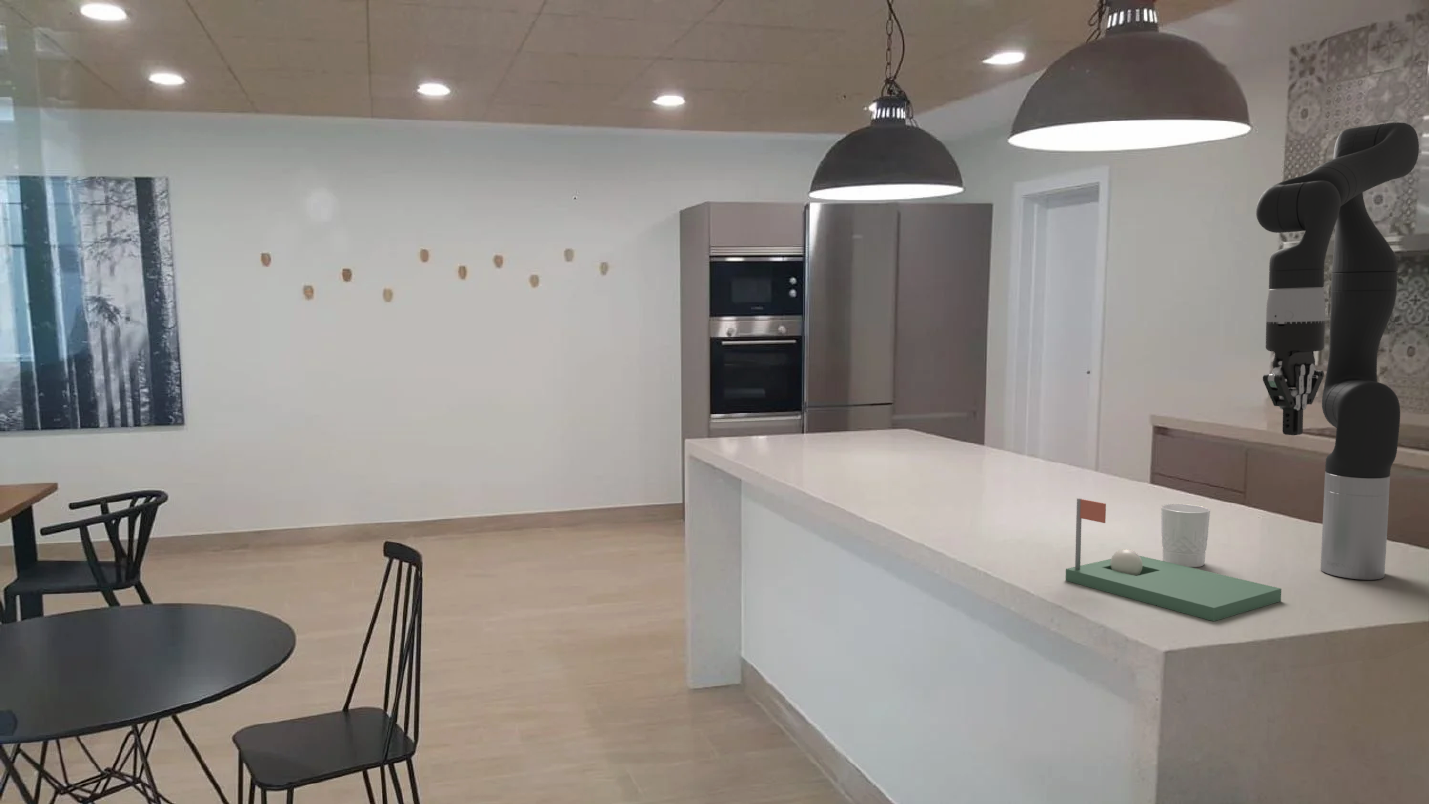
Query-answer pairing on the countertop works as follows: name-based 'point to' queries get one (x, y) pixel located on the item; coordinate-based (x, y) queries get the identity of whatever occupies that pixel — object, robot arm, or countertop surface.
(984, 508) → the countertop surface
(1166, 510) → the white cup
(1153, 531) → the countertop surface
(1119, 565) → the ball
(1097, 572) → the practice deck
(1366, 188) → the robot arm
